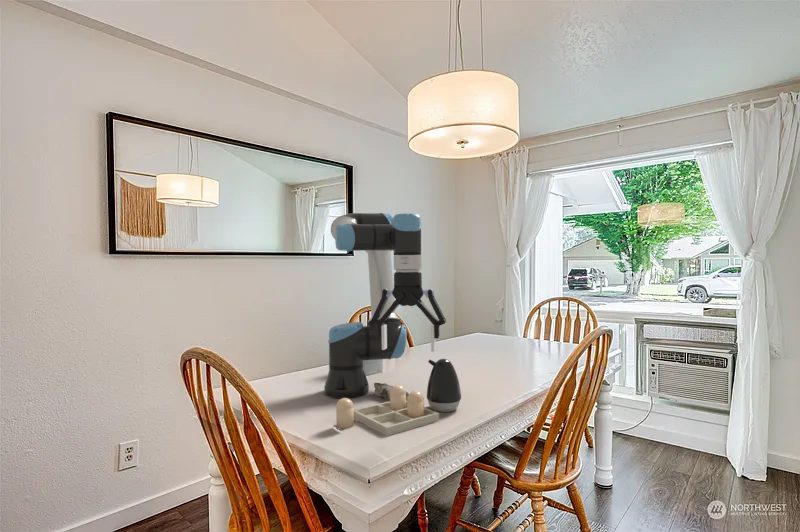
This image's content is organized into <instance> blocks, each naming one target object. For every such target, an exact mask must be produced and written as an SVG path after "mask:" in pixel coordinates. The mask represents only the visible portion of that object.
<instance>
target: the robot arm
mask: <svg viewBox="0 0 800 532" xmlns="http://www.w3.org/2000/svg"><path fill="white" fill-rule="evenodd" d="M422 227H423V226H422V220H421V216H420V215H419V214H418V213H398V214H394V215H393V214H390V213H383V212H379V213H376V212H375V213H374V212H373V213H372V212H368V213H367V212H366V213H365V212H364V213H362V212H352V213H346V214H342V215H340V216H338V217H337V218H335V219H334V220H333V221H332V223H331V224H330V234H331V236H332V238H333V239H334V240H335V242H334V243H335V248H336V249H337V250H338V251H344V252H351V251H352V252H353V251H365V252H366V253H367V263H368V265H367V266H368V279H369V294H370V296H369V297H370V312H371V313H370V314H371V316H370V318H369V319H368V320H367V325H365V326H364V324H363V323H362V322H361V321H356V322H346V323H341V324H337V325H333V327H331V328H330V329H329V331H328V340H327V341H328V363H329V364H328V374H327V377H326V380H325V384H324V387H323V389H324V391H323V392H324V393H325V394H324V393H323V394H324V395H325V396H327V397H330V398H335V399H342V398H348V399H351V398H357V397H361V396H364V395H367V394H368V393H369V392H370V391H369V389H370V387H369V386H370V385H369V382H368V378H367V375H365V372H364V369H363V361H364V360H379V359H383V360H392V359H399V358H401V357H403V355H404V353H405V351H406V346H407V327H406V325H405V324H403V323H402V324H401V318H400V317H398V315H397V314H396V309H397V308H398V307H399V306H401V307H405V306H409V307H413V306H414V307H415V306H417V308H419V310H420V311H421V312H422V313H423V314H424V316H425V317H426V318H427V319H428V320H429V322H430V323H431V324H432V325H431V327H430V346H431V347H430V348H431V349H430V351H431V352H432V353H433V352H435V351H436V350H437V346H436V345H437V344H436V342H437V340H436V339H439V337H440V326H442V325H445V324H446V323H447V319H446V317H445V315H444V313H443V311H442V309H441V308H440V307H441V306H440V305H439V303H438V301H437V300H436V298H435V291H434V289H433V288H430V289H426V290H425V289H424V290H423V284H422V283H423V281H422V279H423V278H422V275H423V274H422V272H421V270H422V268H423V267H422ZM392 252H393V263H392ZM392 264H393V265H392ZM393 270H394V271H395V272H394V273H393ZM423 296H425V297H426V299H428V300H429V302H430V305H431V307H432V309H433V311H434V312H435V315H436V316H435V315H434V314H433V313H432V311H431V310H430V309H429V307H427V306H426V304H425V303H424V302H423V300H422V297H423ZM436 317H437V318H436Z"/></svg>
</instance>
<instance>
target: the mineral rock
mask: <svg viewBox="0 0 800 532" xmlns="http://www.w3.org/2000/svg"><path fill="white" fill-rule="evenodd" d="M393 386H394V385H389V384H388V383H380V382H374V383H373V387H374V395H375V396H379V397H381V398H382V399H384V400H385V401H387V402H389V401H390V390H391V388H392V387H393ZM405 392H406V401H407V397H408V395H409V394H410V393H409V392H408V391H406V390H405Z"/></svg>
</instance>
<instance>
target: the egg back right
mask: <svg viewBox="0 0 800 532" xmlns="http://www.w3.org/2000/svg"><path fill="white" fill-rule="evenodd" d="M406 401H407V416H408V417H410V418H412V419H415V418H419V417H423V416H424V408H425V400H424V395H423V393H421V392H420V391H418V390H413V391H411V392H410V393H409V395H408V397H407V400H406Z"/></svg>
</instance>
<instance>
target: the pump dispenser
mask: <svg viewBox="0 0 800 532" xmlns="http://www.w3.org/2000/svg"><path fill="white" fill-rule="evenodd" d="M428 364H430V365H431V366H432V369H431V372H430V375H429V377H428V380H427V381H428V382H427V388H426V399H427V401H428V405H429V406H430V408H431V410H432V411H435V412H437V413H451V412H453V411H455V410H456V409H457V408H458V407H459V406H460V403H461V399H462V392H461V386H460V385H461V384H460V380H459V377H458V374H457V370H456V369H455V367H454V365H453V363H452V362H451V361H450V360H449V359H447V358H440V359H438V360H436V362H435V361H433V360H432V359H428Z"/></svg>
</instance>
